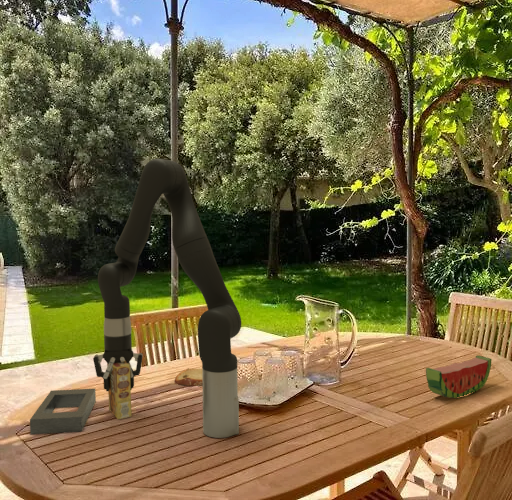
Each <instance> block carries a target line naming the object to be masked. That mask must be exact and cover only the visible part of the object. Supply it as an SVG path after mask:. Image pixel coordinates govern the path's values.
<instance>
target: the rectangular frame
mask: <svg viewBox="0 0 512 500" xmlns="http://www.w3.org/2000/svg"><path fill="white" fill-rule="evenodd" d="M96 395H97V394H96V388H81V389H79V388H78V389H77V388H75V389H57V390H50V391H49V393H48V394H47V395H46V397H45V399H44V400H43V401H42V402H41V403H40V405H39V406H38V408H37V409H36V411H35V412H34V414H33V415H32V416H31V417H30V419H29V426H30V427H29V429H30V430H29V432H30V435H43V434H45V435H46V434H63V433H77V432H78V433H79V432H80V433H81V432H83V430H84V428H85V425H86V424H87V422H88V420H89V417H90V415H91V413H92V410H93V409H94V405H95V404H96V397H97V396H96ZM60 408H61V409H63V408H64V409H65V408H77V410H76V411H62V412H61V411H59V412H54V411H55V409H60Z"/></svg>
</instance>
